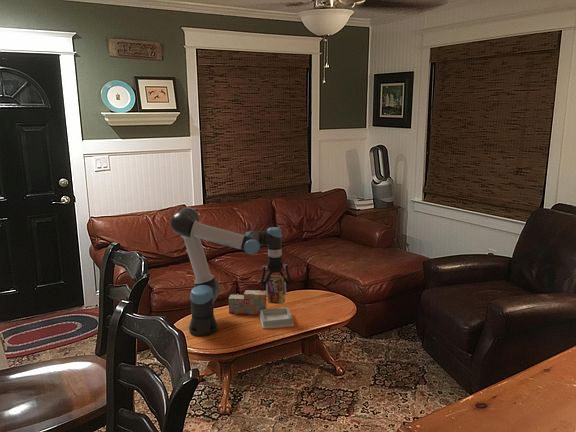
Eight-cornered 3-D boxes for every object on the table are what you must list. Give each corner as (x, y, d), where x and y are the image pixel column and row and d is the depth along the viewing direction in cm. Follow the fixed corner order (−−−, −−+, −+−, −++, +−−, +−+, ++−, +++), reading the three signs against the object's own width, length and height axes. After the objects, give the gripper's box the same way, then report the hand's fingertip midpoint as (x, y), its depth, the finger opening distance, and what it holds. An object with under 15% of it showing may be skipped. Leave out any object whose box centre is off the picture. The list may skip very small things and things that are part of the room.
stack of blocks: (228, 313, 290) (227, 293, 287) (231, 309, 296) (230, 289, 293) (265, 314, 287) (264, 294, 285) (266, 310, 293) (266, 290, 291)
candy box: (285, 301, 277) (284, 275, 273) (282, 304, 273) (281, 278, 270) (270, 300, 280) (269, 274, 276) (267, 303, 276) (266, 276, 272)
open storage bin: (262, 328, 269) (262, 321, 268) (259, 315, 286) (259, 309, 285) (293, 326, 272) (293, 319, 271) (288, 313, 288) (288, 306, 287)
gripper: (255, 259, 265) (256, 298, 270) (296, 256, 269) (297, 295, 273) (253, 255, 272) (255, 293, 277) (293, 252, 276) (294, 290, 281)
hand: (276, 294), depth 275 cm, fingers closed on candy box, 9 cm apart
